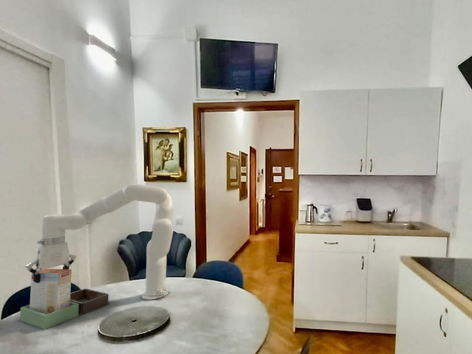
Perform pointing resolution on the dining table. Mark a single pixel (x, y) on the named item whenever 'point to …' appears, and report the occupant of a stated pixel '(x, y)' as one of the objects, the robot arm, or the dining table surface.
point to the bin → (48, 316)
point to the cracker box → (51, 291)
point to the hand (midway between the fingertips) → (51, 278)
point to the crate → (94, 296)
